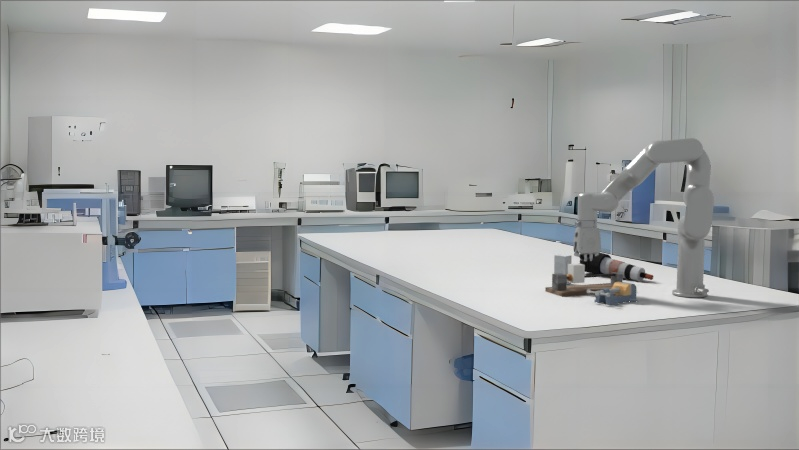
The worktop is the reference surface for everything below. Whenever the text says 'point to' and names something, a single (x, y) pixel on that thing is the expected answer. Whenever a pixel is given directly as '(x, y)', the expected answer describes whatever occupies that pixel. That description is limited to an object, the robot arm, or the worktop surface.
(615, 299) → the vise
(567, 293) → the cord rack
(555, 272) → the skincare box
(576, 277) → the sleeve
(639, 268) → the cable
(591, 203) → the robot arm
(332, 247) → the worktop surface
